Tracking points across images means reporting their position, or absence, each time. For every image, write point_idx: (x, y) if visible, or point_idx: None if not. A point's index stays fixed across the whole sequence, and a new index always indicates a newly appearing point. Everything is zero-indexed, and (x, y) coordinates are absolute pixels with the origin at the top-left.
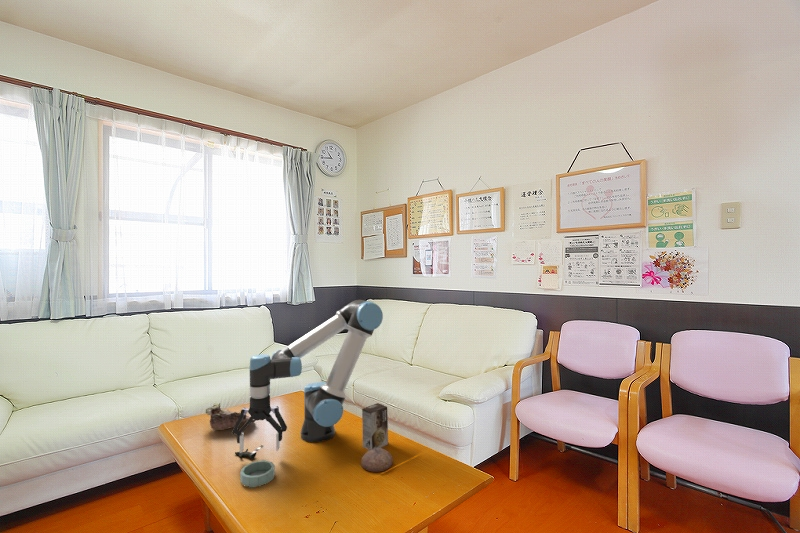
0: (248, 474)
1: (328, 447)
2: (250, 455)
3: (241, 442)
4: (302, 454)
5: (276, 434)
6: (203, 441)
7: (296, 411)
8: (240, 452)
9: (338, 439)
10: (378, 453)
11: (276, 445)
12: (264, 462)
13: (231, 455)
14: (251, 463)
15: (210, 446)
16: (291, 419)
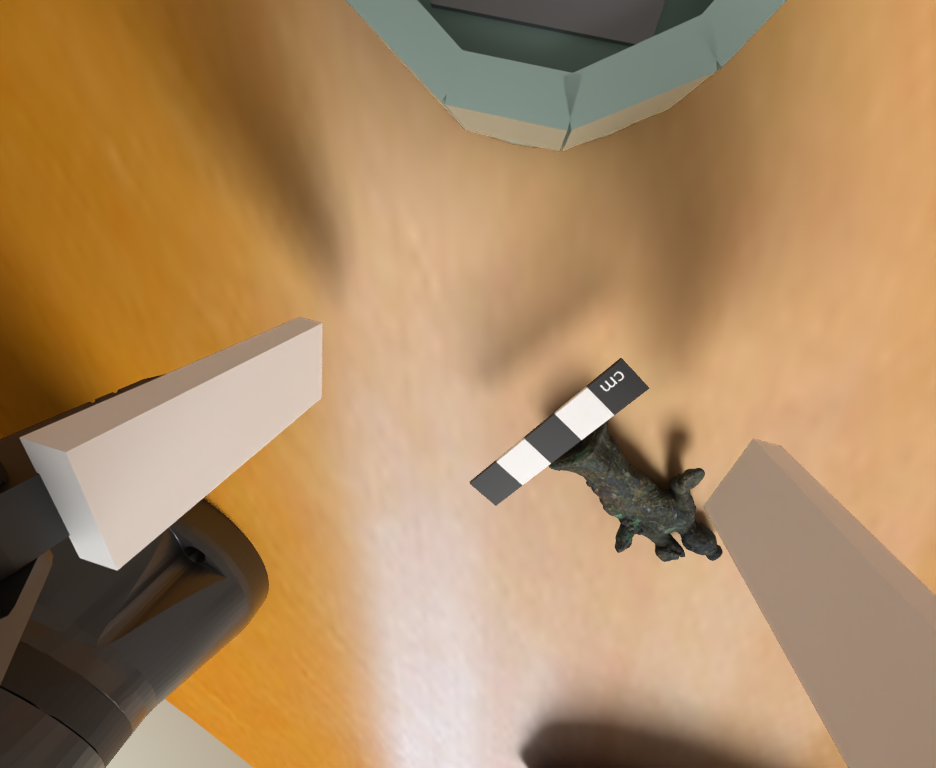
0: (692, 10)
1: (34, 363)
2: (605, 445)
3: (878, 564)
4: (185, 332)
5: (73, 442)
6: None
7: (336, 756)
8: (771, 445)
9: None
10: None
11: (273, 344)
12: (461, 50)
13: None
14: (675, 53)
15: None
16: (348, 718)
